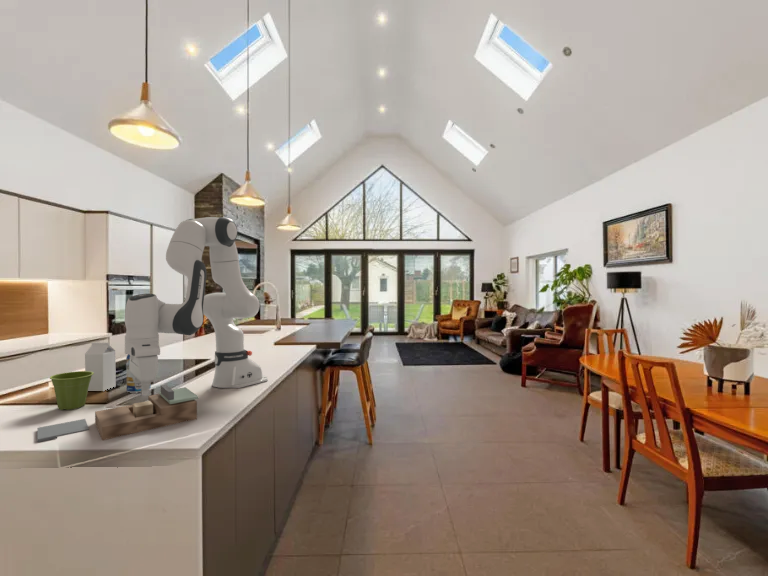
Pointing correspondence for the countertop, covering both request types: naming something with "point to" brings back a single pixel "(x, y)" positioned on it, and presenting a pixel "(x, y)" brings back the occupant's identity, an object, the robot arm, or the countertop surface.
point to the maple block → (142, 409)
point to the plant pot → (71, 389)
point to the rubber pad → (61, 429)
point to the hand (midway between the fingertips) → (141, 391)
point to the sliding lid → (177, 394)
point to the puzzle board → (143, 417)
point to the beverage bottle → (130, 378)
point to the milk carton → (101, 366)
